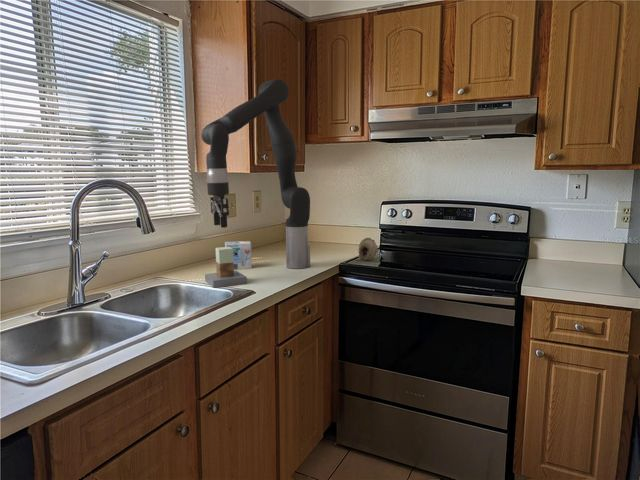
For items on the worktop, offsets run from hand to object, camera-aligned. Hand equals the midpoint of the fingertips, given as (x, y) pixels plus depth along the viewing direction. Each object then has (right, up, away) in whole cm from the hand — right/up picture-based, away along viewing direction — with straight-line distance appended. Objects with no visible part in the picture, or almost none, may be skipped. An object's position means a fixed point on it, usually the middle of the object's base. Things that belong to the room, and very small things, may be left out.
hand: (220, 226), depth 164 cm
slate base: (+2, -20, 0) cm, 20 cm away
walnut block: (+2, -18, -1) cm, 18 cm away
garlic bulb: (+58, -14, +39) cm, 71 cm away
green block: (+2, -13, -2) cm, 13 cm away
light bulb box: (+2, -17, +24) cm, 30 cm away
